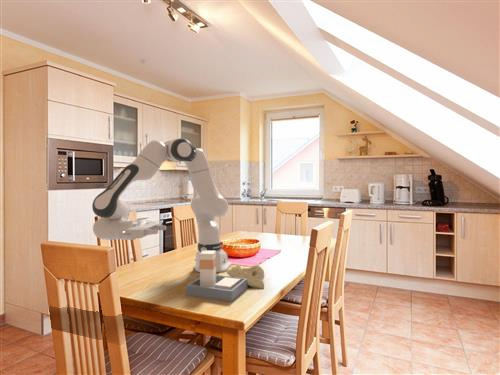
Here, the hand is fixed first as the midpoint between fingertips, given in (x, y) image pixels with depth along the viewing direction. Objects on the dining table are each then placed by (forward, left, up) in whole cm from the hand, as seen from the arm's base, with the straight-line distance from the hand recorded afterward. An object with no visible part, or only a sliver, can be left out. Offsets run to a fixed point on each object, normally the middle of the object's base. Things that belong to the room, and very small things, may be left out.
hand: (161, 229), depth 135 cm
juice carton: (-3, +21, -25) cm, 32 cm away
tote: (-3, +25, -26) cm, 36 cm away
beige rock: (-14, +33, -26) cm, 44 cm away
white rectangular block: (-3, +30, -25) cm, 39 cm away
